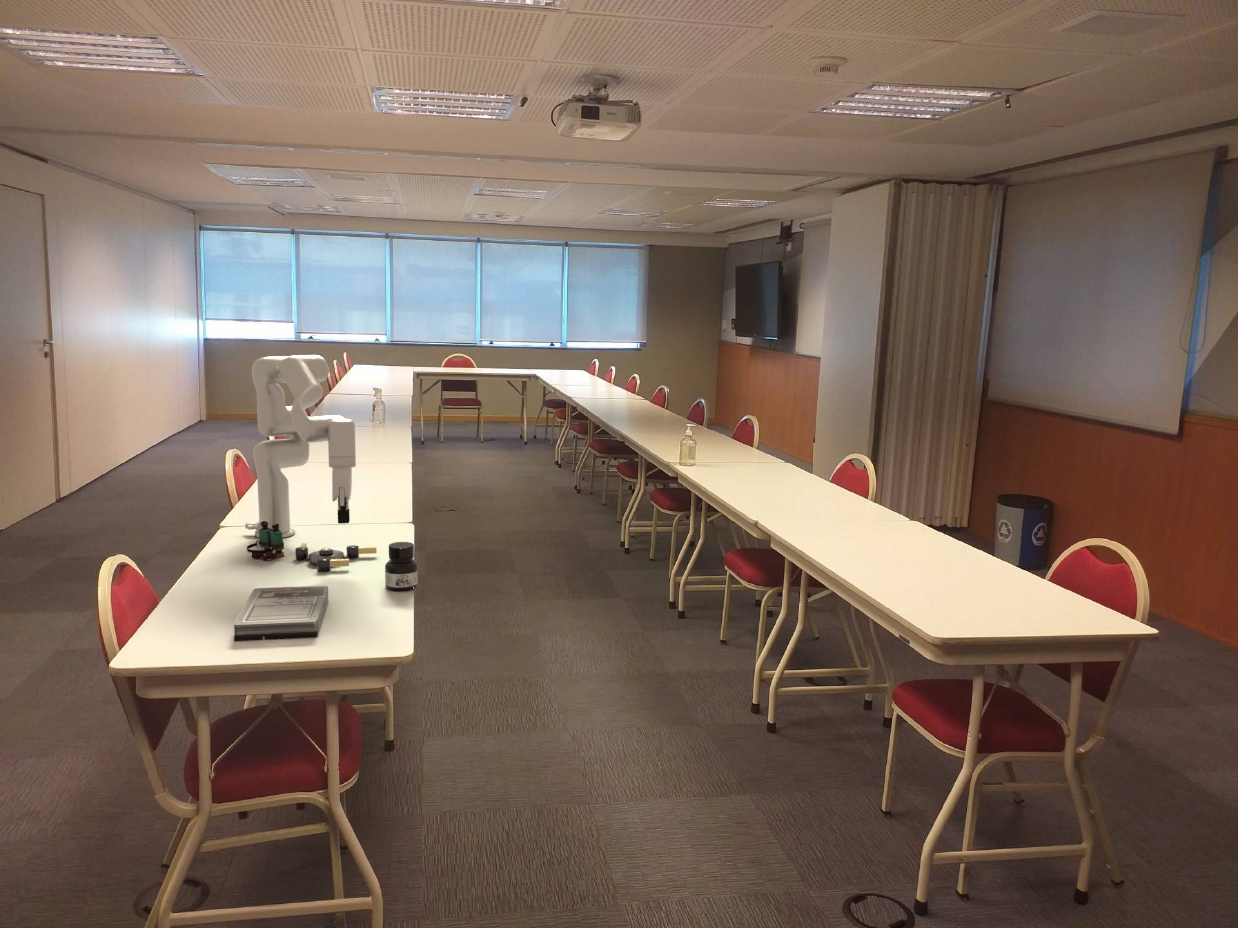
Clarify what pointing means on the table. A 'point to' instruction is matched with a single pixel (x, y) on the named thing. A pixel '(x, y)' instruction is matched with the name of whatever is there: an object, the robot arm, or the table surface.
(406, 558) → the ink bottle
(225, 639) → the table surface
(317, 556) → the tribrach plate
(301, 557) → the knob
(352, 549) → the knob
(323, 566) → the knob
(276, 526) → the binoculars
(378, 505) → the table surface
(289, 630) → the hard drive
